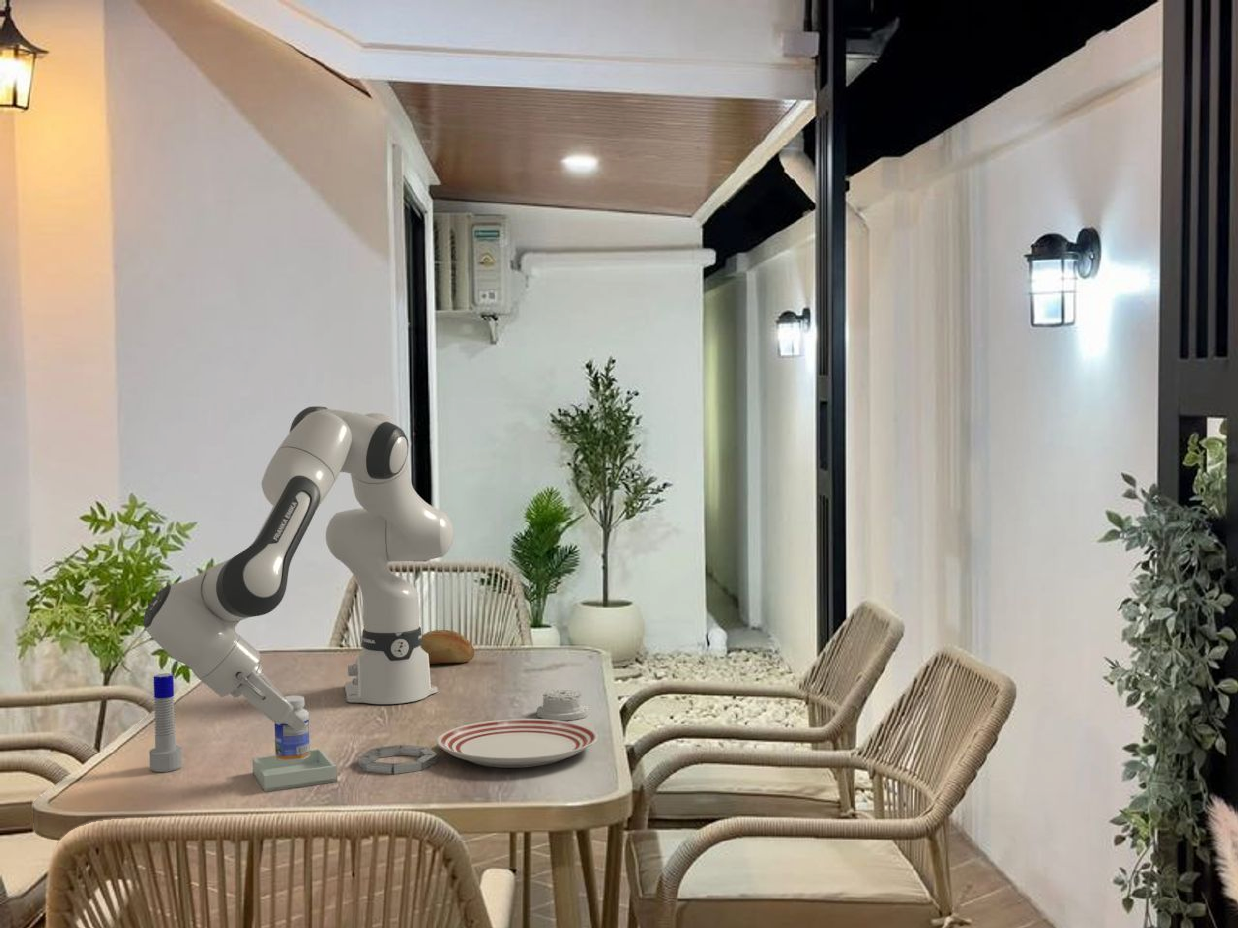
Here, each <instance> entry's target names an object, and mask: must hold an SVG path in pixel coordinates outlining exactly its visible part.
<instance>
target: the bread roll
mask: <svg viewBox="0 0 1238 928" xmlns="http://www.w3.org/2000/svg"><path fill="white" fill-rule="evenodd" d="M421 639H422V644H421V645H420V646H421V648H422V649H423V650H424V651H425V652H426V653H428V656H429V665H435V664H437V665H438V664H448V663H449V664H451V663H452V664H453V663H467V662H468V663H469V662H470V661H471V660H473V658H474V657H475V649H474V646H473V644H472V643H471V641H469V639H467V637H465V636H464V635H462V634H461V633H459V632H457V631H455V630H447V629H435V630H430V631H427V632H425V633H424V634H422V638H421Z"/></svg>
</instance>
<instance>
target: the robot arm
mask: <svg viewBox="0 0 1238 928" xmlns="http://www.w3.org/2000/svg"><path fill="white" fill-rule="evenodd" d="M408 454H409V440H408V437H407V435H406V433H405V432H404V430H403V429H402V428H401V427H400V426H398V425H397V423H396V422H395V421H394V420H393V419H392V418H391V417H390V416H388V415H385V414H383V413H378V412H374V413H373V412H372V413H365V414H361V413H358V412H350V411H344V410H340V409H330V408H328V407H326V406H319V405H318V406H314V405H313V406H308V407H306V408H304V409H302V410H301V411H300V412H298V413H297V414H296V416H295V417H294V418H293V420H292V422H291V425H290V429H289V433H288V435H287V436H286V437H285V438H284V440H283V441H282V442H281V444H280V446H278V449H277V450H276V451H275V453H274V455H273V456H272V458H271V459H270V461H269V462H268V465H267V467H266V469H265V471H264V474H263V477H262V480H261V489H262V492H263V494H264V497H265V498H266V500H267V501H268V502H269V504H271V506H272V508H271V510H270V512H269V513H268V516H267V518H266V519H265V520H264V523H263V525H262V527H261V528H260V529H259V531H258V534H257V536H256V537H255V538H254V541H252V543H251V544H250V546H248V547H247V548H245V549H244V550H242V551H240V552H239V553H237V554H236V555H234V556H233V557H231V558H229V559H227V560H225V561H222V562H220V563H218V564H216V565H214V566H211V567H209V568H208V569H205V570H204V571H201V573H199V574H197V575H195V576H193V577H191V578H189V579H186V580H183V581H181V582H178V583H172V584H167V585H165V586H164V587H162V588H161V589H160V590H159V591H158V592H157V593H156V595H155V596H153V598H152V599H151V601H150V602H149V604H148V605H147V608H146V609H145V612H144V616H143V622H142V623H143V626H144V628H145V630H146V632H147V634H148V635H149V636H150V637H151V638H152V639H153V640H154V641H155V643H157V645H159V647H161V648H162V650H164V651H165V652H166V653H167V654H169V656H171V657H172V658H173V659H174V660H175V661H177V662H178V663H180V664H184V665H185V666H186V667H188V668H190V670H191V671H192V673H193V674H194V676H195V677H196V678H197V679H199V681H201V682H202V683H203V684H205V686H207V687H208V688H209V689H210V690H212V691H213V692H214V693H215V694H216V695H218V696H219V697H221V698H223V697H227V696H229V695H231V696H232V697H234V698H238V697H240V696H243V697H244V699H246V700H247V701H248V702H249V703H250V704H251V705H252V706H254V707H255V708H256V709H257V710H258V711H259V712H261V713H262V714H263V715H264V716H265V717H267V719H269V720H270V721H271V722H272V723H273V724H274V725H275V724H278V725H280V724H281V723H282V722H285V723H286V724H288V725H290V726H291V727H292V728H293V729H295V730H296V731H300V730H301V729H302V728H303V727H304V726H305V722H304V721H303V720H302V719H301V718H299V717H298V716H297V715H296V714H295V713H294V712H293V709H294V708H293V706H292V705H291V703H290V702H289V701H288V700H287V699H286V698H285V697H286V696H284V695H283V694H282V693H281V691H280V690H278V688H277V687H276V686H275V685H274V684H273V683H272V681H271V680H270V679H269V678H268V677H267V676H266V675H265V674H264V673H263V665H262V664H261V663H259V661H260V660H261V653H260V652H259V651H258V650H257V649H256V648H255V647H254V646H252V645H251V644H250V643H249V642H248V641H247V640H245V639H244V637H242V636H241V635H240V634H238V633H237V632H236V626H237V625H238V624H239V623H240V621H243V620H246V619H248V618H253V617H259V616H265V615H267V614H268V613H270V612H272V611H274V610H275V609H276V608H277V607H278V606H279V605H280V604H281V602H282V601H283V599H284V596H285V594H286V592H287V587H288V580H289V578H288V577H289V571H290V566H291V562H292V560H293V557H294V555H295V553H296V551H297V550H298V548H299V546H300V544H301V541H302V539H303V538H304V535H305V533H306V532H307V530H308V528H309V526H310V524H311V522H312V520H313V517H314V516H315V514H316V512H317V511H318V508H319V507H320V506H321V505H322V502H323V501H324V500H325V498H326V497H327V495H328V494H329V492H330V491H331V489H332V487H333V486H334V485H335V483H336V481H337V479H338V477H339V475H340V473H347V474H350V477H351V482H352V488H353V495H354V497H355V500H356V501H357V503H358V504H359V505H360V507H362V508H354V509H349V510H344V511H340V512H336V513H334V515H333V516H332V517H331V518H330V520H329V522H328V524H327V526H326V529H325V543H326V545H327V547H328V549H329V552H330V553H331V554H332V556H334V558H336V559H337V560H338V561H340V562H341V563H342V564H344V565H345V567H347V568H348V569H349V570H350V572H351V573H352V575H353V577H354V578H355V579H356V581H357V583H358V587H359V588H360V593H361V597H362V607H363V608H362V609H363V621H364V622H363V624H364V625H363V626H364V628H363V629H362V633H361V647H362V648H361V650H360V652H359V653H358V656H357V658H356V659H355V663H352V664H349V665H348V666H347V671H348V672H347V675H348V677H354V678H352V680H350V681H347V682H345V683H344V691H345V697H346V702H348V703H364V704H372V705H394V704H395V705H396V704H405V703H410V702H411V703H412V702H417V701H419V700H423V699H426V698H427V697H428V696H430V695H432V694H435V693H436V694H437V693H438V691H439V690H438V686H436V685H433V684H431V683H432V682H431V673H430V672H431V670H430V664H429V656H428V653H426V652H425V651H424V650H423V649H422V648H421V646H420V645H421V644H422V639H421V638H422V635H423V633H422V628H421V627H420V615H419V613H420V612H419V609H420V608H419V607H420V606H419V593H418V590H417V589H416V587H415V586H414V585H413V584H412V583H411V582H409V581H407V580H406V579H403V578H402V577H399V576H397V575H395V574H394V573H393V572H392V571H391V569H390V567H389V565H388V563H391V562H392V563H393V562H394V563H395V562H397V563H398V562H423V561H430V560H434V559H438V558H442V557H444V556H445V555H446V554H447V553H448V552H449V550H450V548H451V546H452V544H453V541H454V534H455V533H454V527H453V523H452V521H451V519H450V517H449V516H448V515H447V514H446V513H445V512H444V511H443V510H440V509H438V508H436V507H435V506H432V505H431V504H429V503H428V502H426V501H425V500H424V499H423V498H422V497H421V496H420V495H419V494H418V493H417V491H416V490H415V489H414V486H413V484H412V483H413V482H412V481H411V476H410V471H409V465H408Z"/></svg>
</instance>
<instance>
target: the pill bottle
mask: <svg viewBox="0 0 1238 928" xmlns="http://www.w3.org/2000/svg"><path fill="white" fill-rule="evenodd" d="M284 697H285V698H286V699H287V700H288V701H289V702H290V703H291V705H292V706H293V708H294V709H293V712H294V713H295V714H296V715H297V716H298V717H299V718H301V719H302V720H303V721H304V722H305V726H304V727H303V728H302V729H301V730H300V731H296V730H295V729H293V728H292V727H291V726H290V725H288V724H286V723H285V722H282V723H281V724H280V725H278V724H275V723H274V745H275V746H274V751H275V753H274V755H276V759H277V760H278V761H281V762H297V761H302V760H304V759H307V758H308V757H309V756H310V750H311V748H310V747H311V745H310V713H309V711H307V709H305V708H304V707H305V697H304V696H302V695H287V696H284Z"/></svg>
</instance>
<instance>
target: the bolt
mask: <svg viewBox="0 0 1238 928" xmlns="http://www.w3.org/2000/svg"><path fill="white" fill-rule="evenodd" d="M174 679H175V678H174V675H173V674H172V673H170V672H169V673H167V672H165V673H158V674H155V675H154V676H153V700H154V702H153V703H154V708H153V709H154V711H153V712H154V731H155V732H154V733H155V734H154V742H155V743H154V745H155V747H154V748H151V749H150V750H149V752H148V753H149V755H148V756H149V769H150V771H151V772H155V773H167V772H168V773H169V772H173V771H174V772H175V771H176V770H179V769H181V767H182V766H183V755H182V754H183V753H182V752H183V750H182V747H181V746H180V745H179V746H178V745H176V727H175V726H176V725H175V723H176V722H175V721H176V720H175V718H176V717H175V715H176V714H175V683H174Z"/></svg>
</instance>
